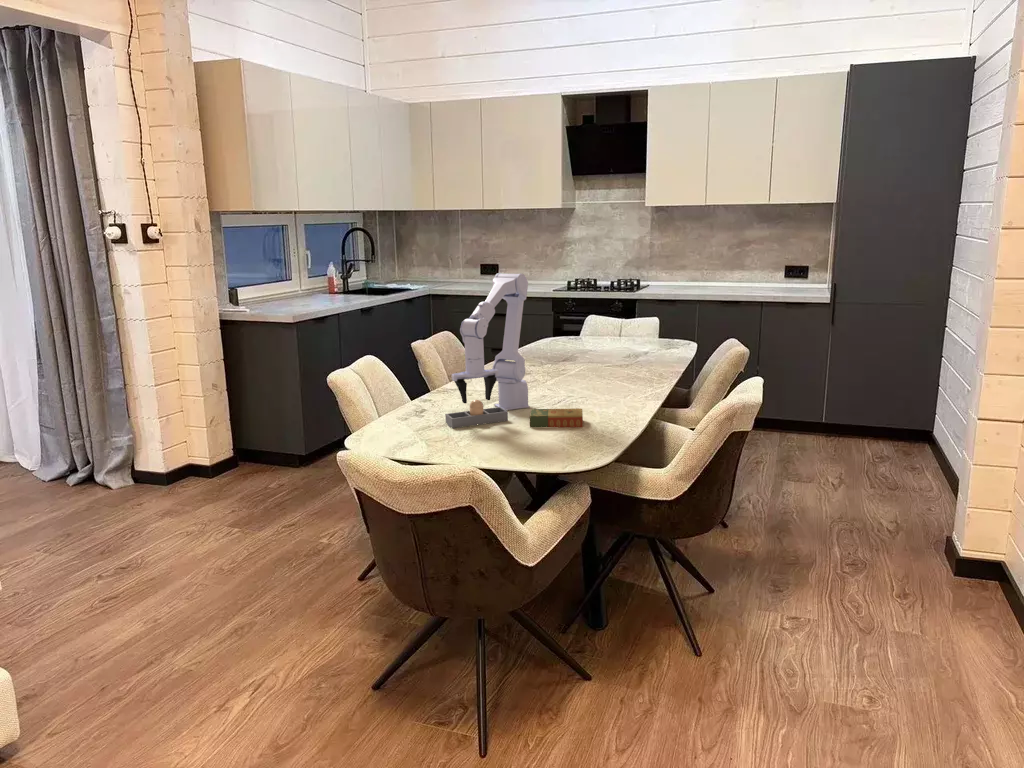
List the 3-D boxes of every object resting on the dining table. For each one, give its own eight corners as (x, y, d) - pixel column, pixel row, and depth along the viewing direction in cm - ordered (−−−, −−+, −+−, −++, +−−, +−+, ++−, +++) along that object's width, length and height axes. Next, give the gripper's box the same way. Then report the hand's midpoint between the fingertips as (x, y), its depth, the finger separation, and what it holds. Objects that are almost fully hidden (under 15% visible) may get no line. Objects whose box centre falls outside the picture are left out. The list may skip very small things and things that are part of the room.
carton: (582, 428, 223) (582, 415, 222) (529, 428, 225) (529, 415, 224) (582, 420, 231) (582, 407, 230) (530, 421, 233) (530, 407, 232)
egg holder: (500, 415, 238) (500, 406, 237) (507, 420, 232) (507, 411, 232) (445, 423, 231) (445, 413, 231) (452, 428, 226) (451, 418, 225)
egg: (480, 416, 234) (480, 397, 233) (485, 419, 230) (485, 400, 229) (468, 418, 233) (467, 399, 231) (472, 421, 229) (472, 402, 227)
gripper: (456, 362, 221) (458, 407, 224) (501, 357, 226) (502, 401, 229) (448, 358, 227) (450, 401, 230) (493, 353, 233) (494, 396, 236)
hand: (476, 401), depth 230 cm, fingers open, 7 cm apart
